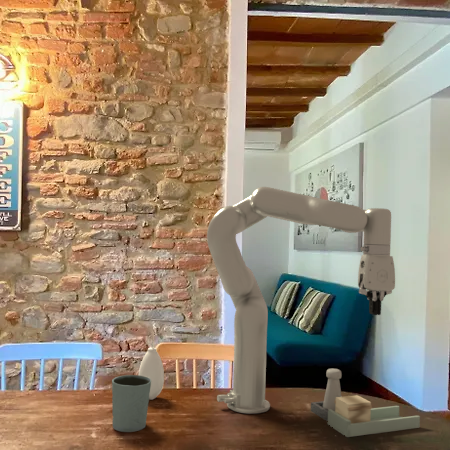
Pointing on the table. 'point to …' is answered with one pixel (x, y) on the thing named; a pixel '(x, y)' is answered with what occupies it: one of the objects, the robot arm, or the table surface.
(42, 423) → the table surface
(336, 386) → the salt shaker
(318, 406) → the grey square frame
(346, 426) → the bay
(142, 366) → the white vase
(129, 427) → the green cup
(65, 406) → the table surface
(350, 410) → the crate
